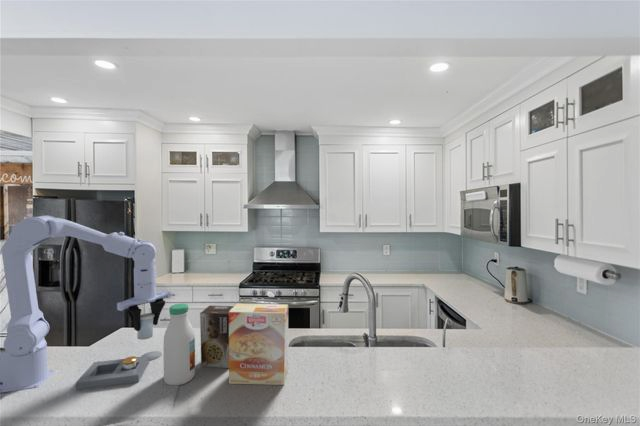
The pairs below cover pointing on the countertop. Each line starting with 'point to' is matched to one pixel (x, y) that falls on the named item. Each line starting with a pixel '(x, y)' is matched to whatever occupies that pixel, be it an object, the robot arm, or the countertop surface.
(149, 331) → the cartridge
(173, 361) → the milk bottle
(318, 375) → the countertop surface
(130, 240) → the robot arm
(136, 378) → the grey flat block
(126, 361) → the plunger
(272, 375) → the coffeecake box
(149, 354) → the pad
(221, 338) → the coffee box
